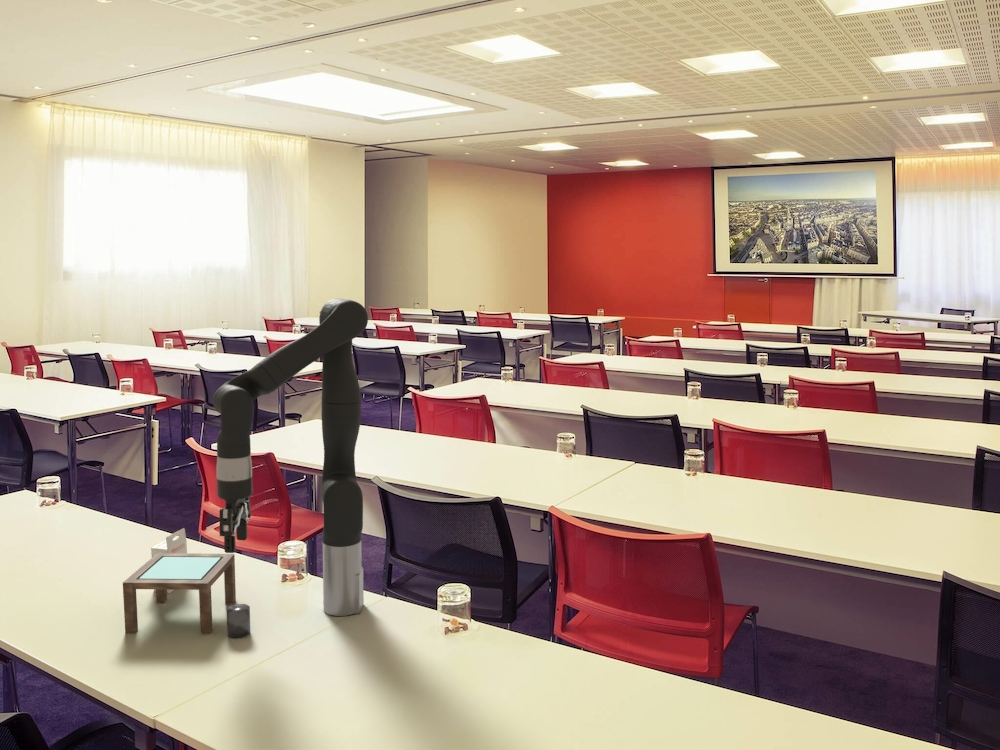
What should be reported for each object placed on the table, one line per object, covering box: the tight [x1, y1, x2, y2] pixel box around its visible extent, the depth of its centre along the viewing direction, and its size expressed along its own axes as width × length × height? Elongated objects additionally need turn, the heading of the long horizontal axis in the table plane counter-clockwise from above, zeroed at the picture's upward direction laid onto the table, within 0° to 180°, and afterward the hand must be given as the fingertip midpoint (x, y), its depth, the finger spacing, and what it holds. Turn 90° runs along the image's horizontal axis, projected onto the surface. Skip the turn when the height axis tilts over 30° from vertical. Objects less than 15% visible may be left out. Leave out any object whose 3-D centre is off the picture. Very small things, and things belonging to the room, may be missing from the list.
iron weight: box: [226, 603, 251, 640], centre depth 185 cm, size 5×5×6 cm
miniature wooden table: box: [122, 552, 237, 635], centre depth 194 cm, size 19×19×12 cm
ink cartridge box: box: [150, 527, 188, 594], centre depth 211 cm, size 9×5×15 cm, turn 168°
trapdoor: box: [139, 557, 221, 580], centre depth 193 cm, size 14×14×1 cm
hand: (236, 545), depth 183 cm, fingers open, 8 cm apart
